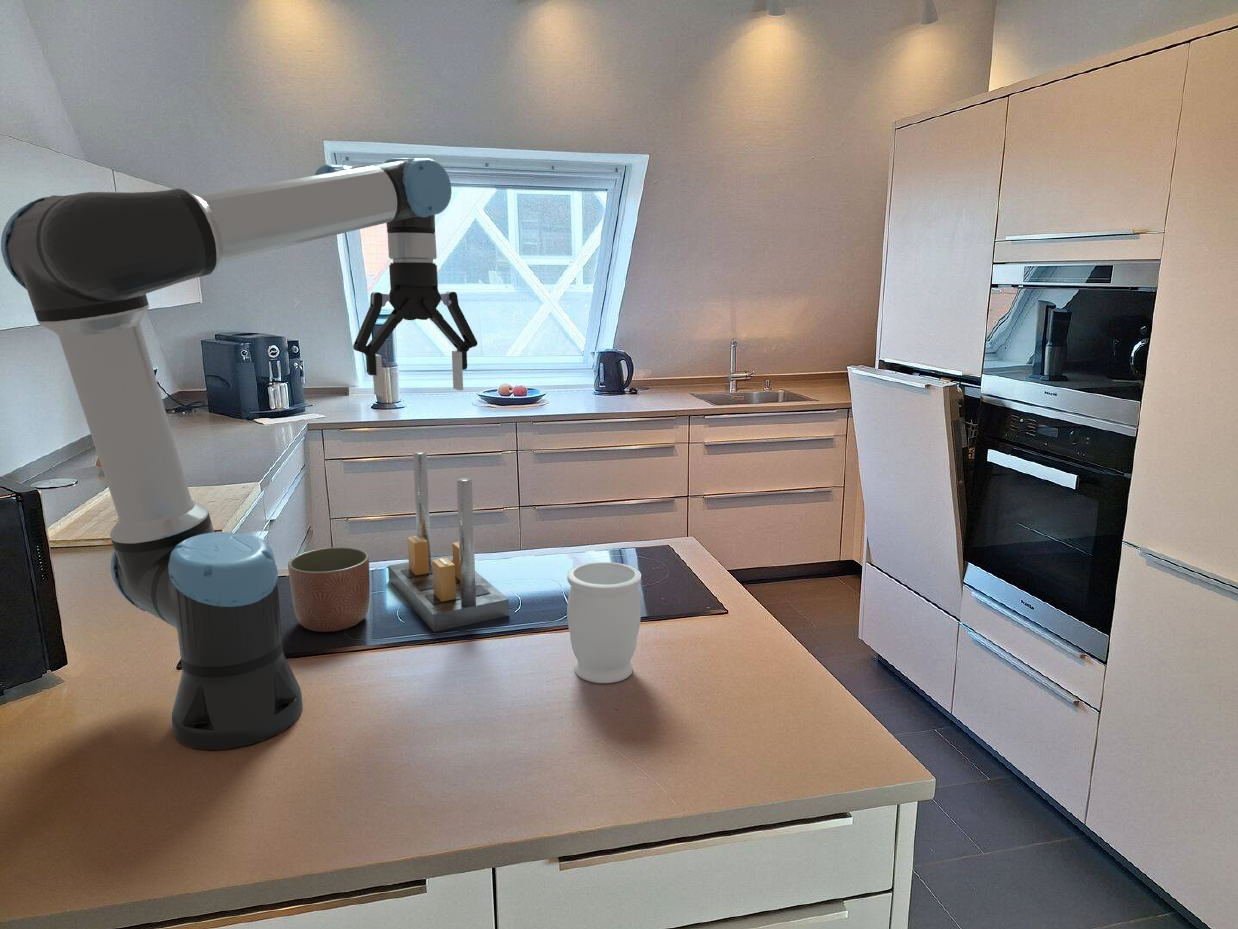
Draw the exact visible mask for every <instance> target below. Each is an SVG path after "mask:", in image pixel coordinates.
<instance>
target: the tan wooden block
mask: <svg viewBox="0 0 1238 929" xmlns="http://www.w3.org/2000/svg"><path fill="white" fill-rule="evenodd" d="M407 555H408V557H407V558H408V562H409V569H410V570H411V571H412V572H413V573H414V574H415V575H421V574H426V573H429V556H428V541H427V540H426V539H425V538H423V537H422V536H421V535H420V536H417V535H413V536H408V537H407Z"/></svg>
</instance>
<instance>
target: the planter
mask: <svg viewBox="0 0 1238 929" xmlns="http://www.w3.org/2000/svg"><path fill="white" fill-rule="evenodd" d="M287 568H288V578H289V579H288V580H289V585H290V593H291V594H290V595H291V600H292V605H293V606H292V607H293V611H294V615H295V617H296V620H297V622H298V623H299V625H301V626H302V627H303V628H305V629H307V630H309V631H314V632H321V633H325V632H326V633H328V632H331V633H332V632H338V631H342V630H347V629H349V628H351V627H354V626H356V625H359V624H360V623H361V621H363V620H364V619H365V618H366V616H367V614H368V612H369V608H370V598H371V596H370V592H371V589H370V588H371V586H370V585H371V583H370V579H371V577H370V556H369V553H368V552H366V551H365V550H363V549H359V548H355V547H347V546H346V547H345V546H344V547H343V546H340V547H339V546H336V547H333V546H332V547H323V548H318V549H313V550H309V551H308V550H307V551H305V552H302V553H300V554H297V555H295V556H294V557H292V558H291V559H290V560H289V561H288V563H287Z"/></svg>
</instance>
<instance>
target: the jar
mask: <svg viewBox="0 0 1238 929" xmlns="http://www.w3.org/2000/svg"><path fill="white" fill-rule="evenodd" d="M641 582H642V573H641V572H640V571H639V569H637V568H635V567H634V566H631V565H628V564H624V563H620V562H613V561H612V562H611V561H593V562H586V563H582V564H579V565H576V566H573V567H572V568H570V570H568V572H567V583H568V584H569V585H570V589H569V590H568V595H567V596H568V597H567V607H566V617H567V626H568V632H569V634H570V635H569V636H570V638H569V639H570V644H571V649H572V651H573V654H574V656H575V658H576V660H577V661H576V662H575V664H574V671H575V673H576V675H577V677H579V678H581V679H583V680H584V681H587V682H591V683H595V684H612V683H613V684H614V683H619V682H621V681H624V680H626V679H627V678H629V677H630V676H631V675H632V673H633V670H634V669H633V664H632V662H631V660H632V658H633V656H634V654H635V650H636V648H637V643H638V642H637V641H638V636H639V631H640V626H641V620H642V619H641V616H642V615H641V614H642V613H641V612H642V610H641V609H642V607H641V596H640V591H639V588H638V586H639V585H640V584H641Z"/></svg>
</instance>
